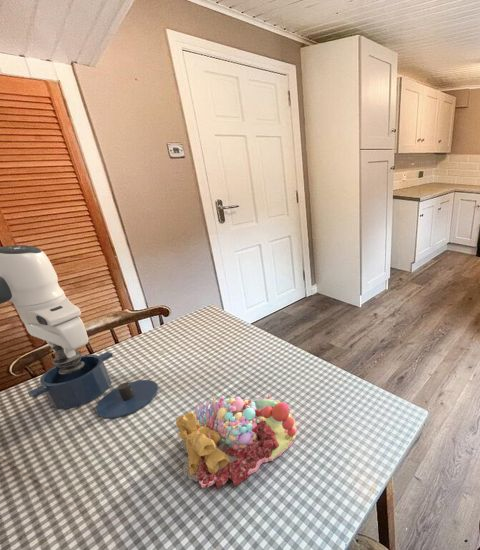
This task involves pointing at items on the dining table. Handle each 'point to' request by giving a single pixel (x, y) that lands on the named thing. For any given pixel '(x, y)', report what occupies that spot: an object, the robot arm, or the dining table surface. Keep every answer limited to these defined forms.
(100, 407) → the pot lid
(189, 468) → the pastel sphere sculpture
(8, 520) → the dining table surface
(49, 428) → the dining table surface
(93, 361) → the pot
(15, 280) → the robot arm
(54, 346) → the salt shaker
